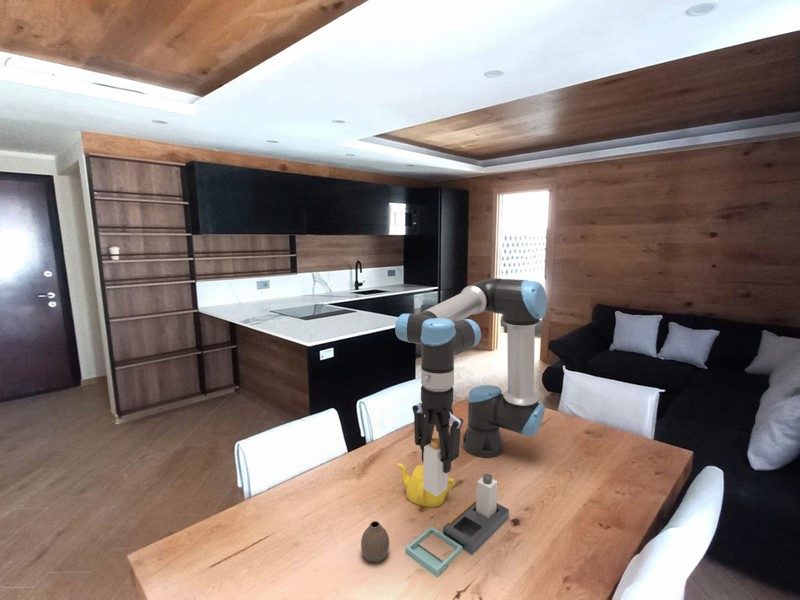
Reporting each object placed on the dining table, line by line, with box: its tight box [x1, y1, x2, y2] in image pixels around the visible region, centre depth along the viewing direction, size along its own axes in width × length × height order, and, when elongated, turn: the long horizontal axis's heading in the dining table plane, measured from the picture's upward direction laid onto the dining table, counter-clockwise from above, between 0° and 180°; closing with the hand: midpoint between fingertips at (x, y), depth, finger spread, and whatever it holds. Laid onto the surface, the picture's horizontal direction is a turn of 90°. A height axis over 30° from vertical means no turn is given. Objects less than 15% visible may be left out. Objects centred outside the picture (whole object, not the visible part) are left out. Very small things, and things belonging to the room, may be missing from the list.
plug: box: [424, 437, 448, 496], centre depth 93 cm, size 4×4×12 cm
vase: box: [360, 520, 390, 564], centre depth 95 cm, size 7×7×9 cm
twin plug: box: [475, 473, 499, 520], centre depth 107 cm, size 4×4×12 cm
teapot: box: [396, 462, 455, 508], centre depth 117 cm, size 14×13×10 cm
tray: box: [404, 526, 464, 578], centre depth 97 cm, size 10×10×2 cm
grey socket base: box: [442, 498, 510, 556], centre depth 105 cm, size 9×18×4 cm, turn 136°
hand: (435, 478), depth 94 cm, fingers closed on plug, 4 cm apart
